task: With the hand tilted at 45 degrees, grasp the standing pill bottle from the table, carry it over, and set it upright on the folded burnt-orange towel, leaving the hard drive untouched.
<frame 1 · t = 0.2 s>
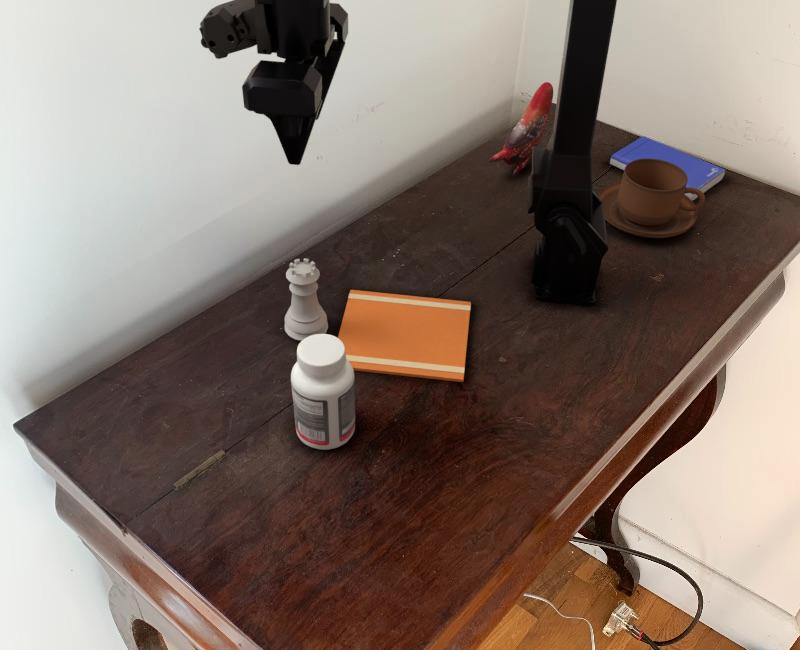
hand: (304, 140, 80), 15 cm above the table, tool pointing down, fingers open, 9 cm apart
pill bottle: (325, 430, 73), on the table
decorative bird figurine: (514, 176, 105), on the table
towel: (403, 334, 82), on the table
cup and saucer: (642, 220, 99), on the table
rook chess piece: (306, 331, 82), on the table
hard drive: (665, 173, 107), on the table
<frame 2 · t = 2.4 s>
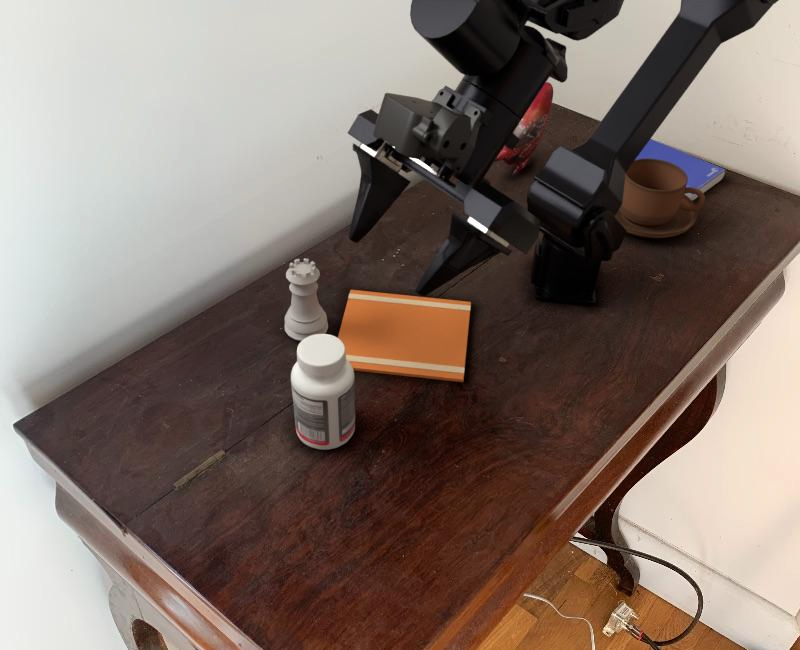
hand: (384, 266, 68), 13 cm above the table, tool tilted 40°, fingers open, 9 cm apart
nothing on the table moved.
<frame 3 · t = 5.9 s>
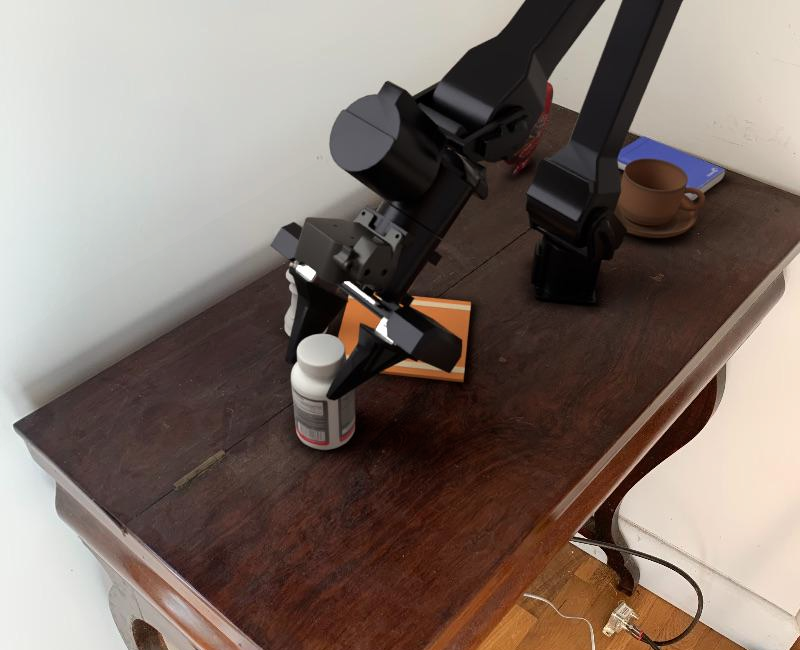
hand: (309, 380, 67), 7 cm above the table, tool tilted 45°, fingers closed on pill bottle, 5 cm apart
pill bottle: (325, 430, 73), on the table, touching gripper
everything else where it was.
when the fingers open (7 cm above the table, at t = 11.5 s): pill bottle stays where it is, resting on towel.
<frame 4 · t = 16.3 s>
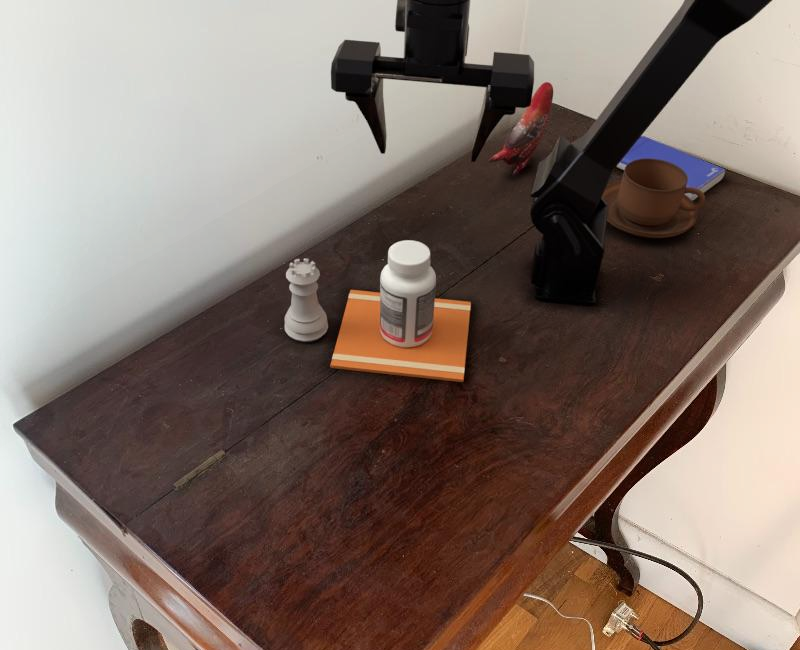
hand: (428, 155, 82), 13 cm above the table, tool pointing down, fingers open, 9 cm apart
pill bottle: (405, 333, 82), resting on towel
everything else where it was.
at the end: pill bottle inside the target area on the towel (0.2 cm from its centre), point 0.2 cm above the towel's base; pill bottle tilted 0°; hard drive moved 0.2 cm from its start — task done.
